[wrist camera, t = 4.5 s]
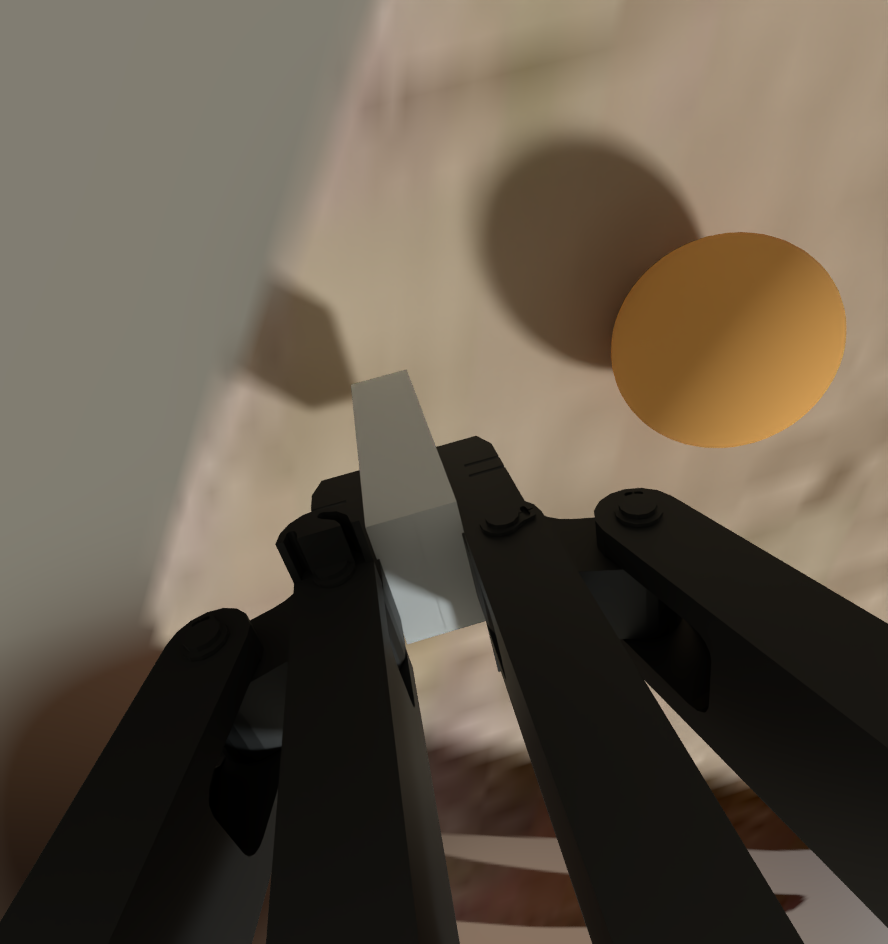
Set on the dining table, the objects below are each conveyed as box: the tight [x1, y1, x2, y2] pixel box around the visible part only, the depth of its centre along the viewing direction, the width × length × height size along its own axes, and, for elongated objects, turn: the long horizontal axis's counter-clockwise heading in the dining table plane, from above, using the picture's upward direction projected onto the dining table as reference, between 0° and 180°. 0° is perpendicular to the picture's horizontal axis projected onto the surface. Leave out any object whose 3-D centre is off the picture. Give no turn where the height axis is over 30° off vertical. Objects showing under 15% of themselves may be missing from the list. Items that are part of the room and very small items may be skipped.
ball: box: [611, 232, 846, 448], centre depth 15 cm, size 6×6×6 cm
